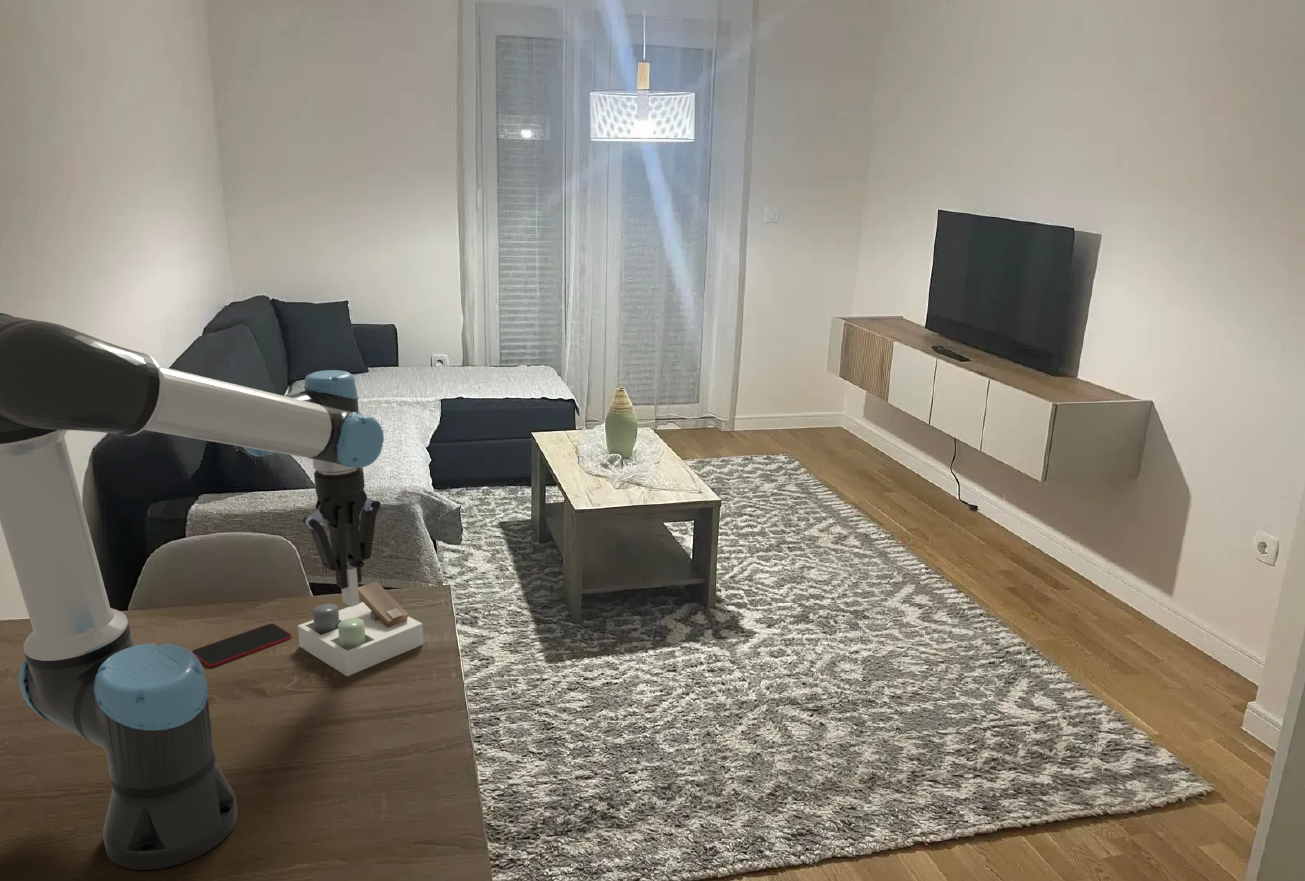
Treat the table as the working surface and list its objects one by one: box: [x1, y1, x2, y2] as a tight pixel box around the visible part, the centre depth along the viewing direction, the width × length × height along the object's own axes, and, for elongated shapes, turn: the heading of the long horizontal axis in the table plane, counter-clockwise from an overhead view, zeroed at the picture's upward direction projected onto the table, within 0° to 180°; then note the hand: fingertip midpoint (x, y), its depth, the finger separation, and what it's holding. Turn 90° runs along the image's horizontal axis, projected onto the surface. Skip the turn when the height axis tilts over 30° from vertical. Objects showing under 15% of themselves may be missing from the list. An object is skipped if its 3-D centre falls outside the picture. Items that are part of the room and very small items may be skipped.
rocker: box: [358, 580, 409, 628], centre depth 172 cm, size 4×10×2 cm, turn 48°
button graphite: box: [312, 603, 340, 635], centre depth 169 cm, size 4×4×4 cm
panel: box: [297, 601, 424, 677], centre depth 170 cm, size 15×15×5 cm
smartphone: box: [191, 623, 293, 668], centre depth 170 cm, size 7×1×15 cm
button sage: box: [338, 618, 366, 651], centre depth 164 cm, size 4×4×4 cm
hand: (351, 602), depth 163 cm, fingers closed
